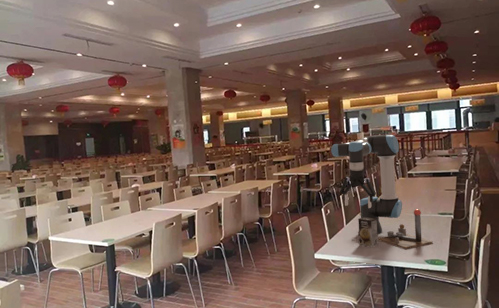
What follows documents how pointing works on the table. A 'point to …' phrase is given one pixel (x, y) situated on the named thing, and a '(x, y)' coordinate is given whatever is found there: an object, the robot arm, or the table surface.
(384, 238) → the cracker base
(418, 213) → the lever
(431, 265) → the table surface
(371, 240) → the coffee box
